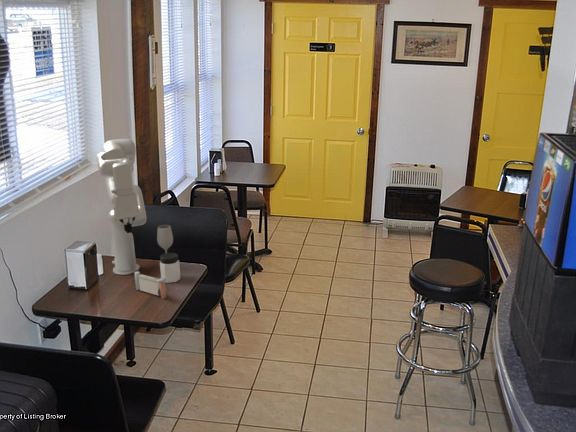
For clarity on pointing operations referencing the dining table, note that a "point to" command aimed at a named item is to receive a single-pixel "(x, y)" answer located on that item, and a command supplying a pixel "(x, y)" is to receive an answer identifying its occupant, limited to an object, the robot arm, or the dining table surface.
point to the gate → (147, 284)
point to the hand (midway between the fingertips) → (128, 232)
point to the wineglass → (164, 236)
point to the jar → (170, 267)
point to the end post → (162, 288)
